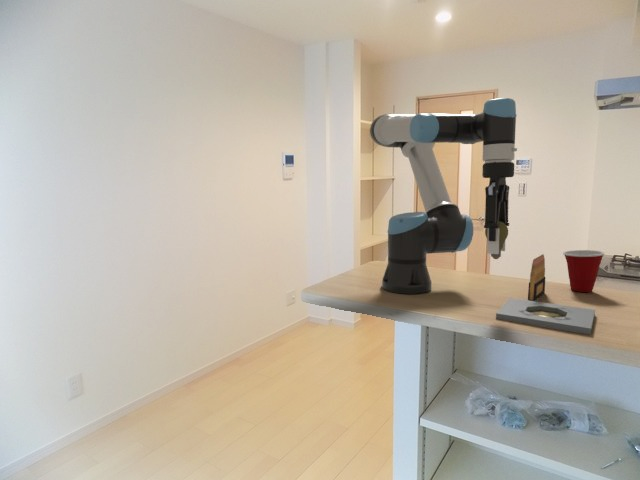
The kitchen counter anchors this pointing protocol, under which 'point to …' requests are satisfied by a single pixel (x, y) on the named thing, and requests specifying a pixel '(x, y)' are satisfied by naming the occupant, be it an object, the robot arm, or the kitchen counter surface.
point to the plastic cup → (583, 268)
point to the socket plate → (548, 315)
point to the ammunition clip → (537, 279)
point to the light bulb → (500, 237)
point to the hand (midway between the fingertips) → (496, 251)
